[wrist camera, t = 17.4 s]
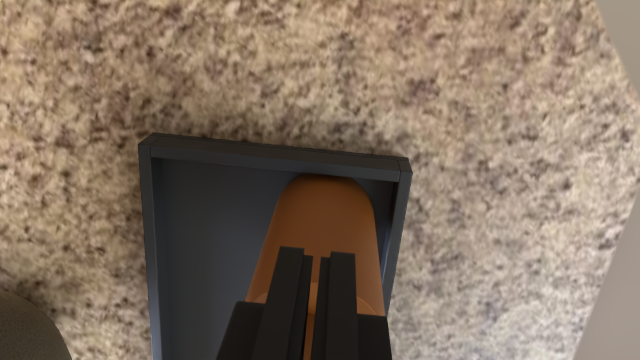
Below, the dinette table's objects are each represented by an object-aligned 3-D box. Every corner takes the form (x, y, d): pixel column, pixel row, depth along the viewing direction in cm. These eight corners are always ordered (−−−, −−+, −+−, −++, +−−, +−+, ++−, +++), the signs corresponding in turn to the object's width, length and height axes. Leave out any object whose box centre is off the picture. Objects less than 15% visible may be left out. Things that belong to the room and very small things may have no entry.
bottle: (380, 175, 32) (414, 383, 15) (367, 262, 35) (384, 518, 18) (278, 165, 32) (203, 360, 16) (273, 253, 35) (205, 497, 18)
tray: (408, 157, 32) (413, 172, 30) (351, 491, 46) (351, 520, 43) (153, 132, 32) (137, 144, 30) (171, 471, 46) (162, 498, 43)
